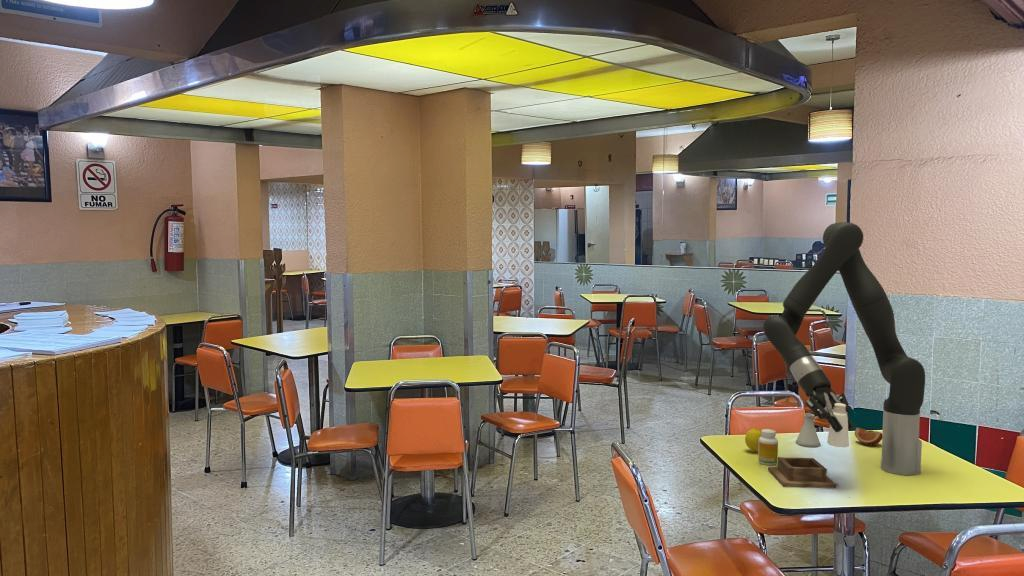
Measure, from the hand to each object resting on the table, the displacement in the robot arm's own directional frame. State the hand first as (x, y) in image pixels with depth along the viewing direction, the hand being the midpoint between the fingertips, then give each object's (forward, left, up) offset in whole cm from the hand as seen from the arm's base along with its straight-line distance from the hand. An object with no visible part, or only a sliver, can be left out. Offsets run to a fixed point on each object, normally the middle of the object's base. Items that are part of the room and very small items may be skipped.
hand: (845, 429), depth 187 cm
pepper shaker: (+1, -2, -5) cm, 5 cm away
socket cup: (+8, -7, -16) cm, 20 cm away
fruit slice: (-26, -44, -16) cm, 54 cm away
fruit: (+14, -32, -16) cm, 39 cm away
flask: (-6, -42, -16) cm, 46 cm away
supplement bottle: (+13, -21, -16) cm, 30 cm away
